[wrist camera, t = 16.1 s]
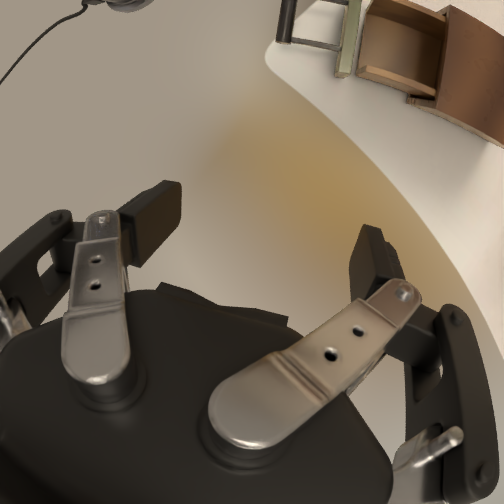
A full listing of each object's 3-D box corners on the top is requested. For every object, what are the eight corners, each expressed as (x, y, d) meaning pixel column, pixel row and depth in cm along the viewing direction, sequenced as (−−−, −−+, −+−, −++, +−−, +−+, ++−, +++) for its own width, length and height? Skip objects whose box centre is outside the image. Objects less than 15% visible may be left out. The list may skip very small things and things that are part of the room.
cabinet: (406, 103, 29) (435, 109, 20) (419, 22, 22) (449, 4, 13) (489, 141, 27) (529, 162, 19) (503, 67, 20) (546, 70, 11)
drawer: (280, 66, 30) (268, 58, 23) (292, -9, 24) (283, -35, 16) (431, 108, 28) (460, 115, 20) (443, 34, 21) (473, 24, 14)
